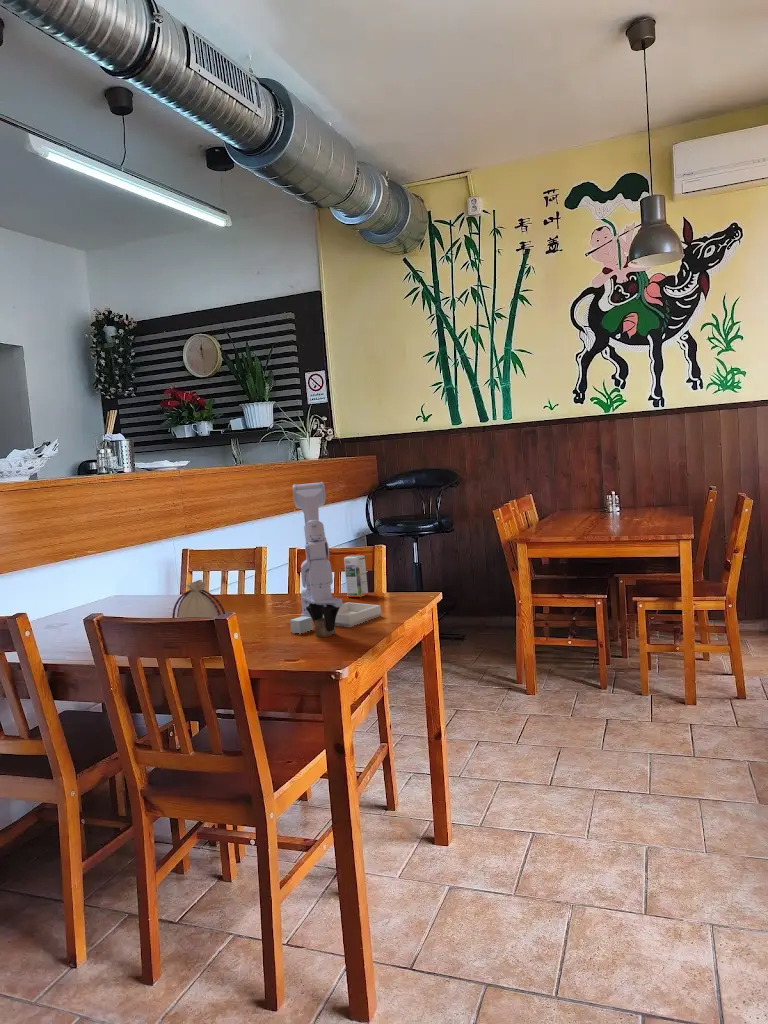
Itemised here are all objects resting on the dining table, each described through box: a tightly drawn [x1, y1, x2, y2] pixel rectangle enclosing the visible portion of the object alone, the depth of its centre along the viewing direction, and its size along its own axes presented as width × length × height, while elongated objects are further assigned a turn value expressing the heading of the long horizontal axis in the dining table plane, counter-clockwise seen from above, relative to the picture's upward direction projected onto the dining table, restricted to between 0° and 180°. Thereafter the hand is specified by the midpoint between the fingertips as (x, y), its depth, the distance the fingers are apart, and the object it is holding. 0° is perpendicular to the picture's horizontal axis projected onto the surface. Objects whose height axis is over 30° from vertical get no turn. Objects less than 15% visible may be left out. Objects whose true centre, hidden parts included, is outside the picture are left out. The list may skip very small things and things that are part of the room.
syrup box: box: [343, 555, 369, 596], centre depth 261 cm, size 6×6×14 cm
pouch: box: [171, 579, 226, 618], centre depth 208 cm, size 25×8×19 cm, turn 73°
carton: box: [289, 615, 314, 635], centre depth 216 cm, size 4×5×4 cm
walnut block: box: [313, 617, 336, 638], centre depth 209 cm, size 4×4×4 cm
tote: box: [323, 602, 382, 628], centre depth 225 cm, size 14×14×4 cm
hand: (325, 629), depth 209 cm, fingers closed on walnut block, 4 cm apart
